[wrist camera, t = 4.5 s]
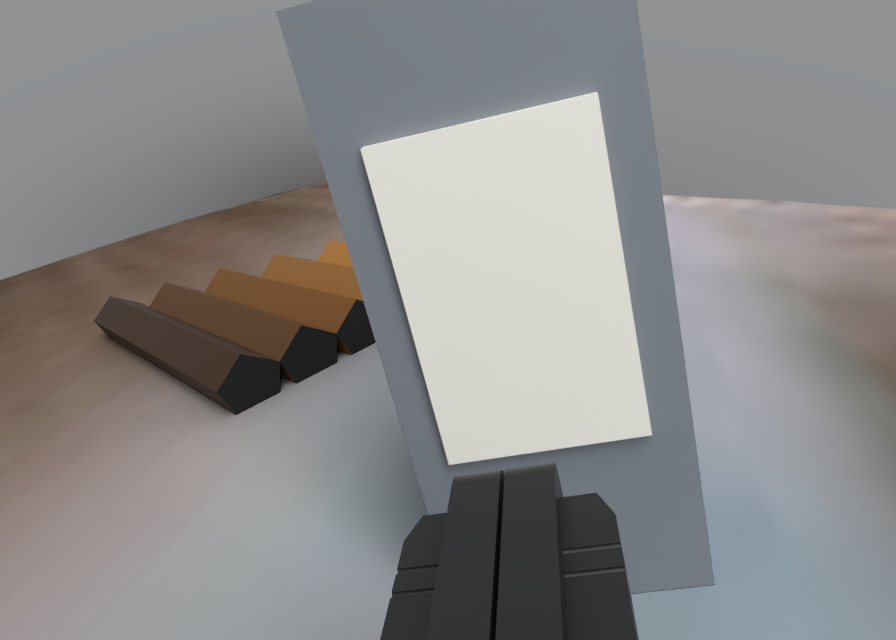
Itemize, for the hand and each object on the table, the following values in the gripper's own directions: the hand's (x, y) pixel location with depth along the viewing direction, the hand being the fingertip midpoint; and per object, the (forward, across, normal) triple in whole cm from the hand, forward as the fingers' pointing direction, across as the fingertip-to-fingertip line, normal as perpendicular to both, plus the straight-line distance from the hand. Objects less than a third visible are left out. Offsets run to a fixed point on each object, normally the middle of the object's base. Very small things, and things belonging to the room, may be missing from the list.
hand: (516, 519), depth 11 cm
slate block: (+9, 0, +8) cm, 12 cm away
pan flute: (+39, +17, +9) cm, 43 cm away
